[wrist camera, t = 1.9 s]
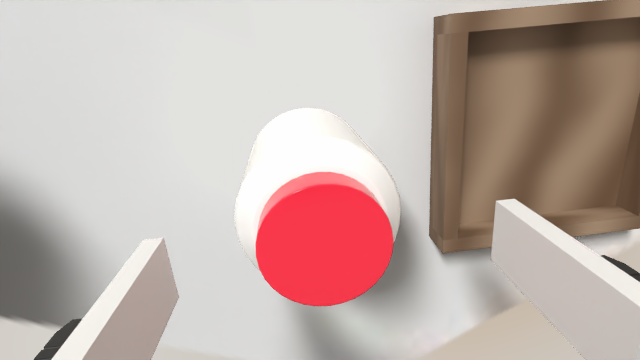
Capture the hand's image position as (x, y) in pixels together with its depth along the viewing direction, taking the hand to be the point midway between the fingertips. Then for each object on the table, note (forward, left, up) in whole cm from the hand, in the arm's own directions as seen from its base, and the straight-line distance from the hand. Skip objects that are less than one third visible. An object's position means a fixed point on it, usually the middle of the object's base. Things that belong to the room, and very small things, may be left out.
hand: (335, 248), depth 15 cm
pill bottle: (0, 0, -11) cm, 11 cm away
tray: (+16, +1, -11) cm, 19 cm away
